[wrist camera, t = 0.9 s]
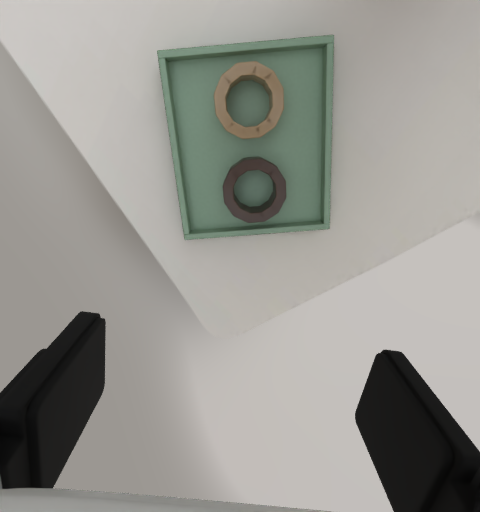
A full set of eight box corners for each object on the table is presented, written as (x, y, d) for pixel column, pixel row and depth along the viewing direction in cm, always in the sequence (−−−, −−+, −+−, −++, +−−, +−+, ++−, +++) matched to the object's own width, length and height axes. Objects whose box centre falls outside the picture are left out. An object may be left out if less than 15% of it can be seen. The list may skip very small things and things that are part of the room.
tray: (162, 56, 30) (156, 50, 28) (327, 41, 29) (334, 34, 27) (187, 234, 36) (184, 240, 34) (324, 223, 35) (329, 229, 33)
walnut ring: (221, 159, 32) (220, 161, 29) (281, 154, 32) (285, 156, 29) (227, 217, 34) (226, 224, 32) (283, 213, 34) (287, 220, 31)
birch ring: (213, 71, 29) (210, 64, 27) (278, 65, 29) (282, 58, 27) (219, 140, 32) (218, 141, 29) (280, 135, 31) (284, 135, 29)
